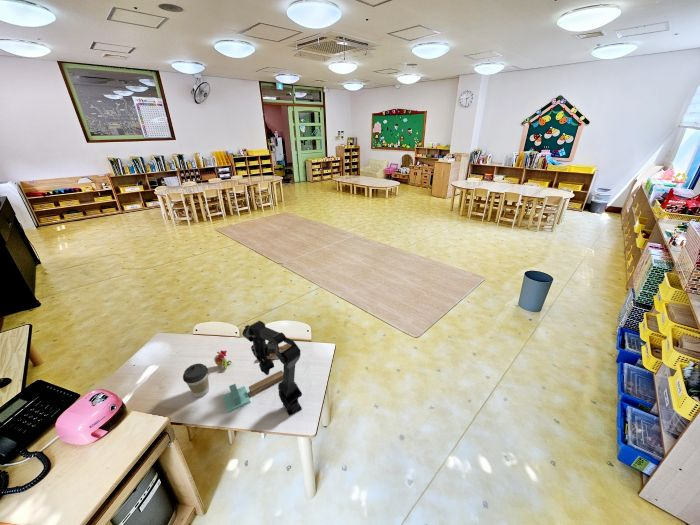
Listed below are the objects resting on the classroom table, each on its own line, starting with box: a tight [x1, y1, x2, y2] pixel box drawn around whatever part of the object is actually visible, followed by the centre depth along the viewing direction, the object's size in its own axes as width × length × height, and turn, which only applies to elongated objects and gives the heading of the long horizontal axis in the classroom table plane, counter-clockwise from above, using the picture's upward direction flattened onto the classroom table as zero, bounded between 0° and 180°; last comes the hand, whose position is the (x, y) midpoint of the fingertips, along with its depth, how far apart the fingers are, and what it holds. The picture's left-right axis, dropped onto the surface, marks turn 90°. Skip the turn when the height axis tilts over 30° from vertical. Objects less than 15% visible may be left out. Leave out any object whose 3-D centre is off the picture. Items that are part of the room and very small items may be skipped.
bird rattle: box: [213, 349, 232, 370], centre depth 165 cm, size 6×11×9 cm
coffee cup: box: [182, 363, 210, 398], centre depth 149 cm, size 11×11×15 cm
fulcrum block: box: [222, 383, 251, 414], centre depth 146 cm, size 11×11×6 cm
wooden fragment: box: [253, 343, 291, 364], centre depth 175 cm, size 26×11×1 cm, turn 116°
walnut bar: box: [248, 369, 283, 397], centre depth 154 cm, size 4×18×4 cm, turn 126°
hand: (264, 368), depth 150 cm, fingers open, 9 cm apart
